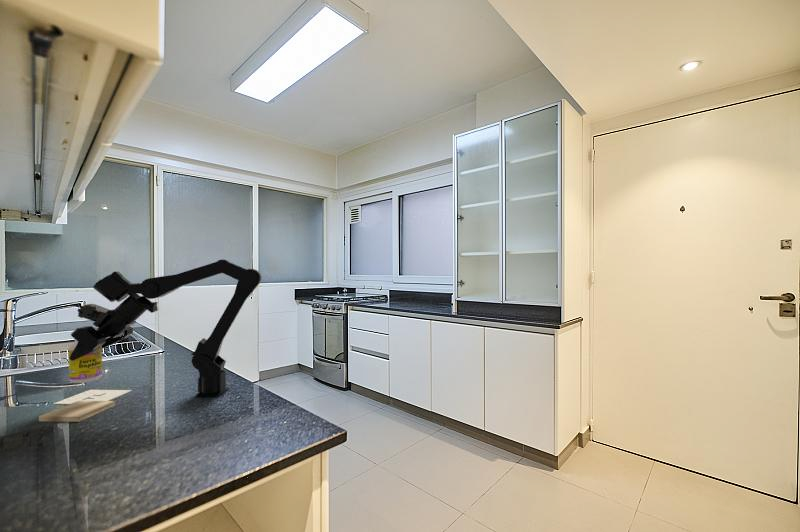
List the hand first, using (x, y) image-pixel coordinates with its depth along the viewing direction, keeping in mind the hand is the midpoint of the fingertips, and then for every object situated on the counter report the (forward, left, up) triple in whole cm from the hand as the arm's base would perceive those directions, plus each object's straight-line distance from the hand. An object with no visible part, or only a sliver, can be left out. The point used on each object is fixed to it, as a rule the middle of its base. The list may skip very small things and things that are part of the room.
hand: (79, 356), depth 94 cm
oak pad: (-5, +5, -13) cm, 15 cm away
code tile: (+1, -6, -13) cm, 15 cm away
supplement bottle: (-1, -1, -7) cm, 7 cm away
